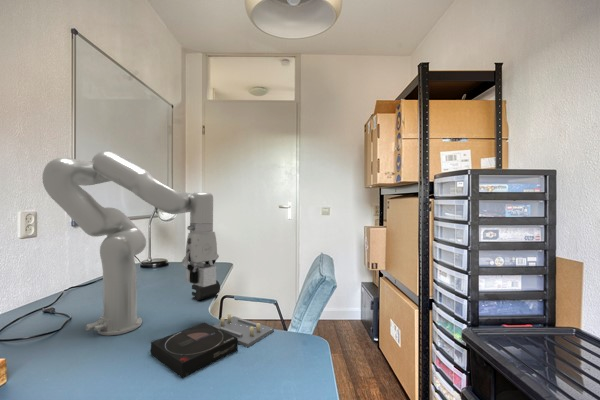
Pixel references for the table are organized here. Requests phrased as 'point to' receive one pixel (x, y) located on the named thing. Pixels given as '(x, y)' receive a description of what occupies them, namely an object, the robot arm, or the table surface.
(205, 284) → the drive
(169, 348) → the portable cd player
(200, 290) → the end cap
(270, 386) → the table surface
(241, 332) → the grey pegged fixture plate
